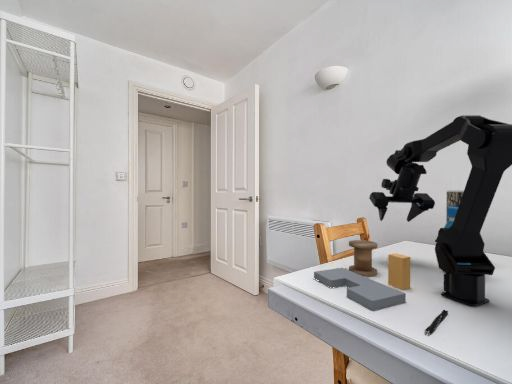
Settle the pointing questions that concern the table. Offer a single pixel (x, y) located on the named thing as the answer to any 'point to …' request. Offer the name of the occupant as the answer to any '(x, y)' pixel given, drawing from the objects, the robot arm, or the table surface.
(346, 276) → the board
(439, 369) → the table surface
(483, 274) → the robot arm
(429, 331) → the black twisted rod
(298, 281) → the table surface
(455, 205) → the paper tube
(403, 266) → the tan upright block
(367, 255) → the bobbin
